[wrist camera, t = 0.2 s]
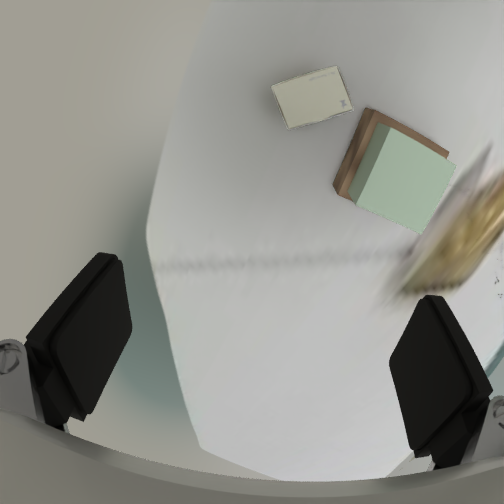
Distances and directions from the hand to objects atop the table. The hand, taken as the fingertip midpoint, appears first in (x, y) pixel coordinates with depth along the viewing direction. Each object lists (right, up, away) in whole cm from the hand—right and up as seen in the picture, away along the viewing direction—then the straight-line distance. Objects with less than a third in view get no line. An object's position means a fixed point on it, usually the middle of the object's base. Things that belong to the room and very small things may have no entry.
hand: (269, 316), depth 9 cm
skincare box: (+6, +21, +24) cm, 33 cm away
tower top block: (+16, +11, +24) cm, 31 cm away
